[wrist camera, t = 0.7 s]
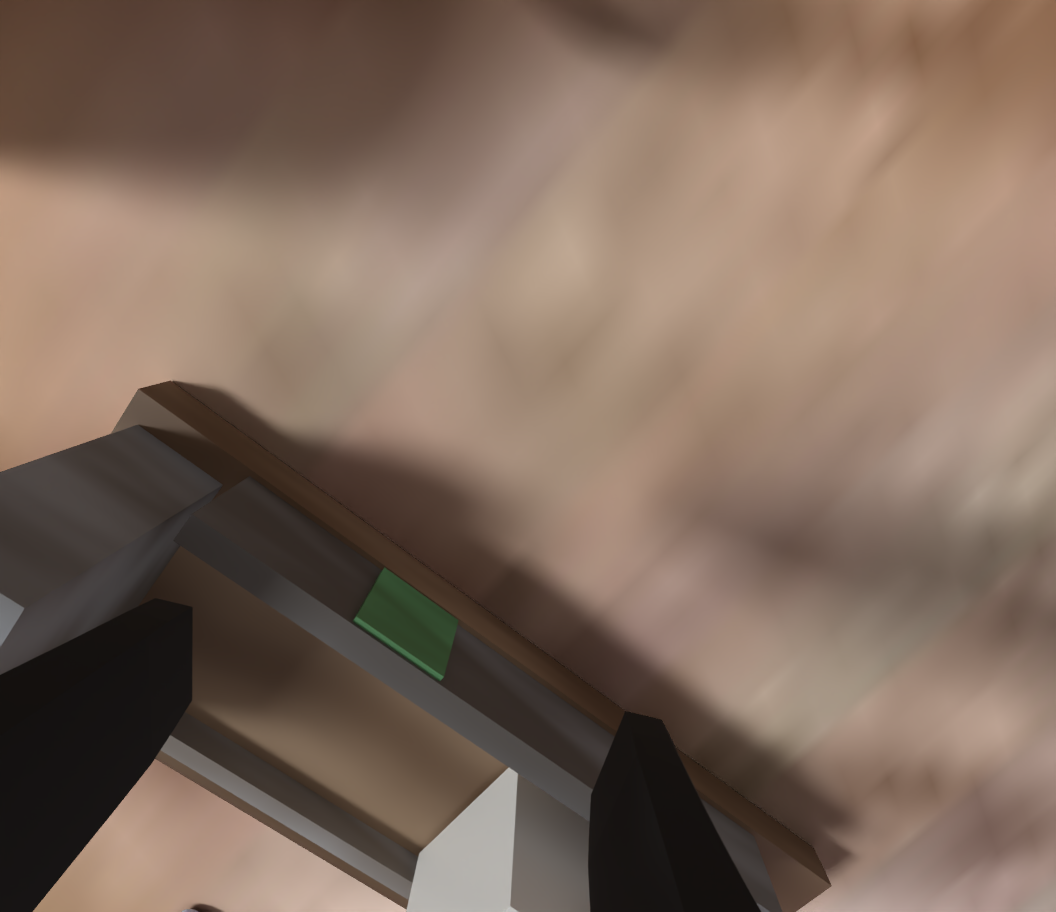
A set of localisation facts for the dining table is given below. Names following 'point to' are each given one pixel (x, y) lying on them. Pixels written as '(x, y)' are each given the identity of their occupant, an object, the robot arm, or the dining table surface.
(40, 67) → the dining table surface
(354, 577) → the gauge base
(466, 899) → the gauge slider
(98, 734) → the robot arm
